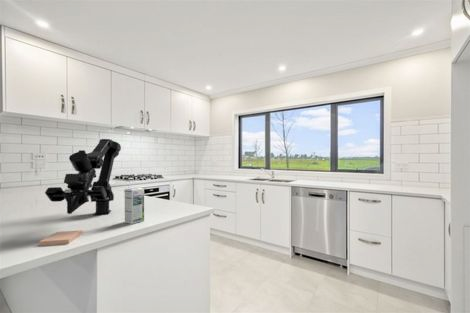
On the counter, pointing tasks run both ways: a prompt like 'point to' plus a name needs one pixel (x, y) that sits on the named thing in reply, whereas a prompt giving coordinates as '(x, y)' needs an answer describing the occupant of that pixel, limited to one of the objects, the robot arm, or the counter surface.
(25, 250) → the counter surface
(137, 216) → the syrup box
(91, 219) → the counter surface
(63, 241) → the tile
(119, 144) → the robot arm
